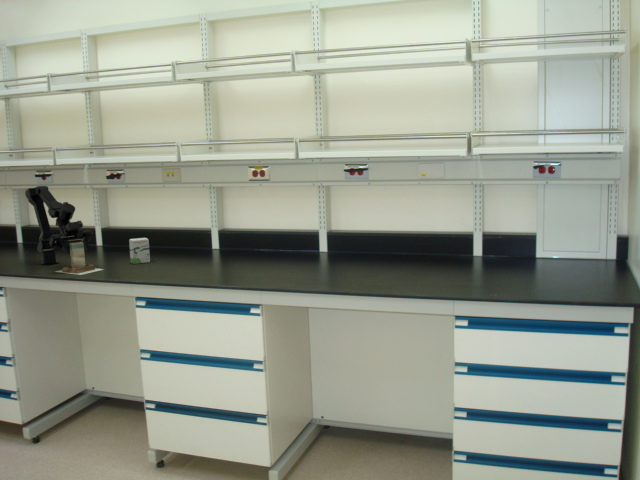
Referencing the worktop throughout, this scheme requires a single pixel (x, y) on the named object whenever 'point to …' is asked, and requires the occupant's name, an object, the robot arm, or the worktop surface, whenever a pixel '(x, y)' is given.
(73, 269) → the brown wooden tray
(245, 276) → the worktop surface
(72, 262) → the tan box
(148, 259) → the ink box
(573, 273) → the worktop surface
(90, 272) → the mat
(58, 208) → the robot arm
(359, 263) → the worktop surface
